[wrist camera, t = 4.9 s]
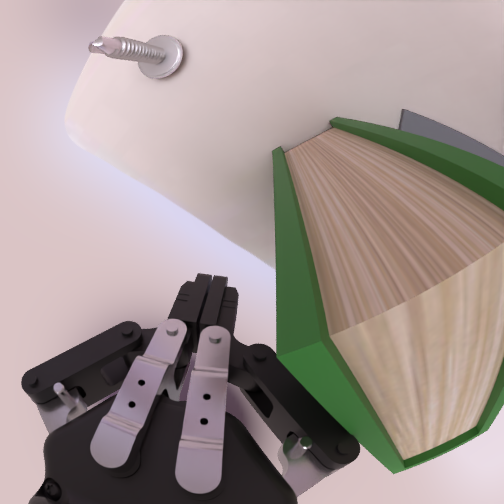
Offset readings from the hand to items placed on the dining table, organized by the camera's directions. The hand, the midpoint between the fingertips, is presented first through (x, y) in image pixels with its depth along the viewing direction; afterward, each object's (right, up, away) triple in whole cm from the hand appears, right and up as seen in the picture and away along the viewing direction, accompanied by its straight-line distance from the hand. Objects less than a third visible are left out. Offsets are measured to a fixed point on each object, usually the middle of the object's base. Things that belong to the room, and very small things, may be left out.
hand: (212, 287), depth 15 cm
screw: (-7, +22, +8) cm, 24 cm away
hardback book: (+12, +7, +13) cm, 19 cm away
